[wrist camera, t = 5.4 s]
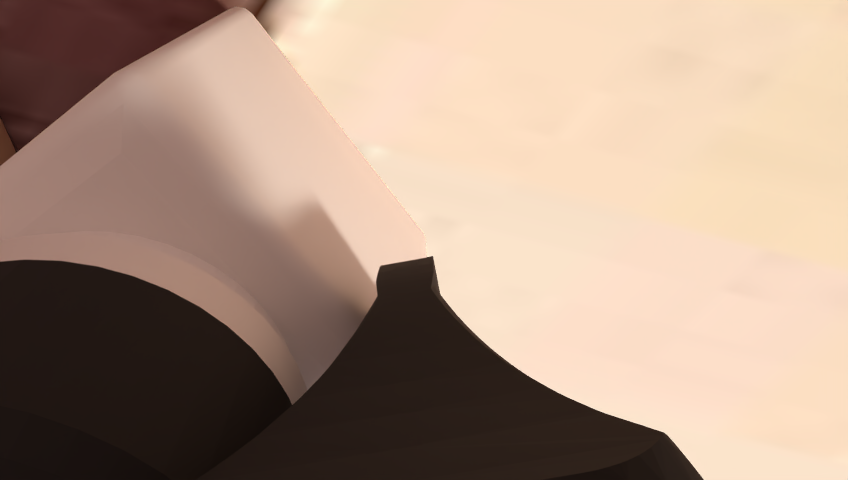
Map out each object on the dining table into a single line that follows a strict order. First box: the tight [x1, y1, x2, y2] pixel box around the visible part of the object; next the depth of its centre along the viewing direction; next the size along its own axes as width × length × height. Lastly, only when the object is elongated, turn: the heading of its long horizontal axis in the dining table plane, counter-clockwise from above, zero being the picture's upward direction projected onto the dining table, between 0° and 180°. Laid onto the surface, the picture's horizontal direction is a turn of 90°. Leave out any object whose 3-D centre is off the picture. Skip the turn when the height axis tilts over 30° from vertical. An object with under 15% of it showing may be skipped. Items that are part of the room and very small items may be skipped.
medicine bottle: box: [0, 7, 427, 480], centre depth 12 cm, size 7×7×12 cm
